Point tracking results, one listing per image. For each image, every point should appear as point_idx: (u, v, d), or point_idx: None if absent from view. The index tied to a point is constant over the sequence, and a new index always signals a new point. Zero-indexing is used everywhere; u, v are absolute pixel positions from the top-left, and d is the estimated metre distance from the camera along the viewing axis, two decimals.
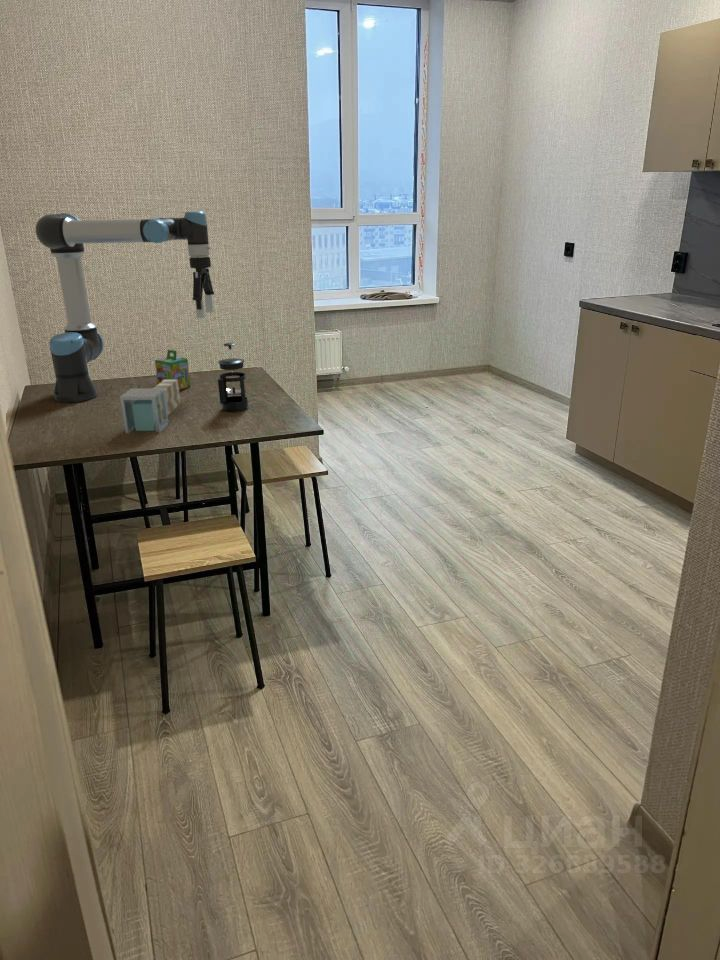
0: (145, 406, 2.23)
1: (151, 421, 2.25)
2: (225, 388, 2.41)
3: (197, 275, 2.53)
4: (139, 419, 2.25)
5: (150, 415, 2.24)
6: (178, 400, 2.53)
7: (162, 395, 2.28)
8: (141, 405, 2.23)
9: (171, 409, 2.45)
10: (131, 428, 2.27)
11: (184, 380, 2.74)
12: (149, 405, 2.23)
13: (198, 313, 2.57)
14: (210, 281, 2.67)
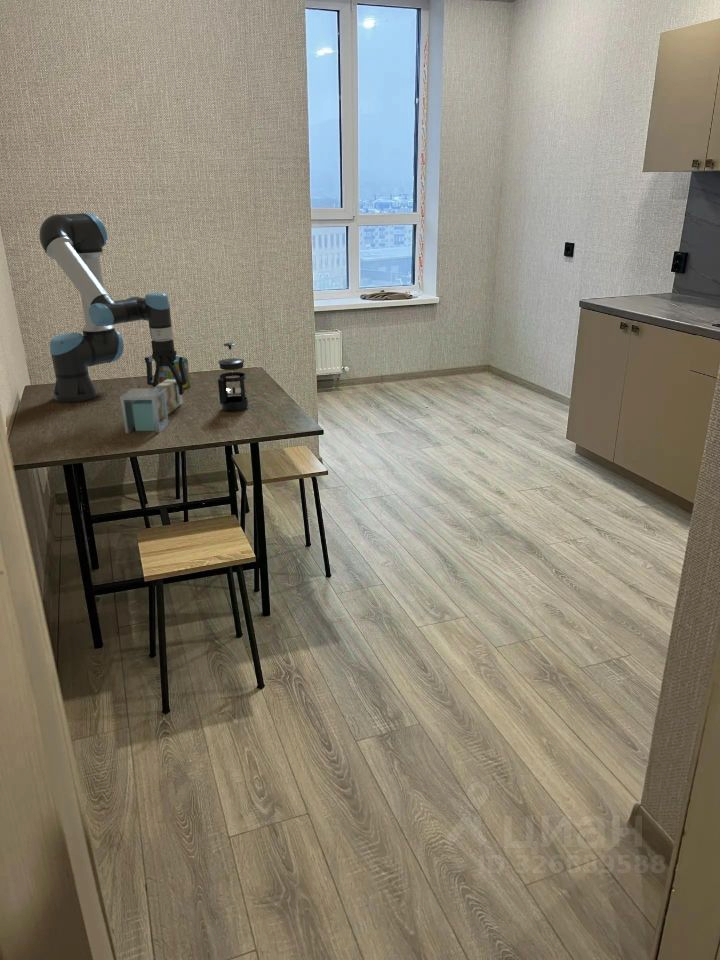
0: (145, 406, 2.23)
1: (151, 421, 2.25)
2: (225, 388, 2.41)
3: None
4: (139, 419, 2.25)
5: (150, 415, 2.24)
6: None
7: (162, 395, 2.28)
8: (141, 405, 2.23)
9: (170, 409, 2.45)
10: (131, 428, 2.27)
11: None
12: (149, 405, 2.23)
13: None
14: (181, 371, 2.46)
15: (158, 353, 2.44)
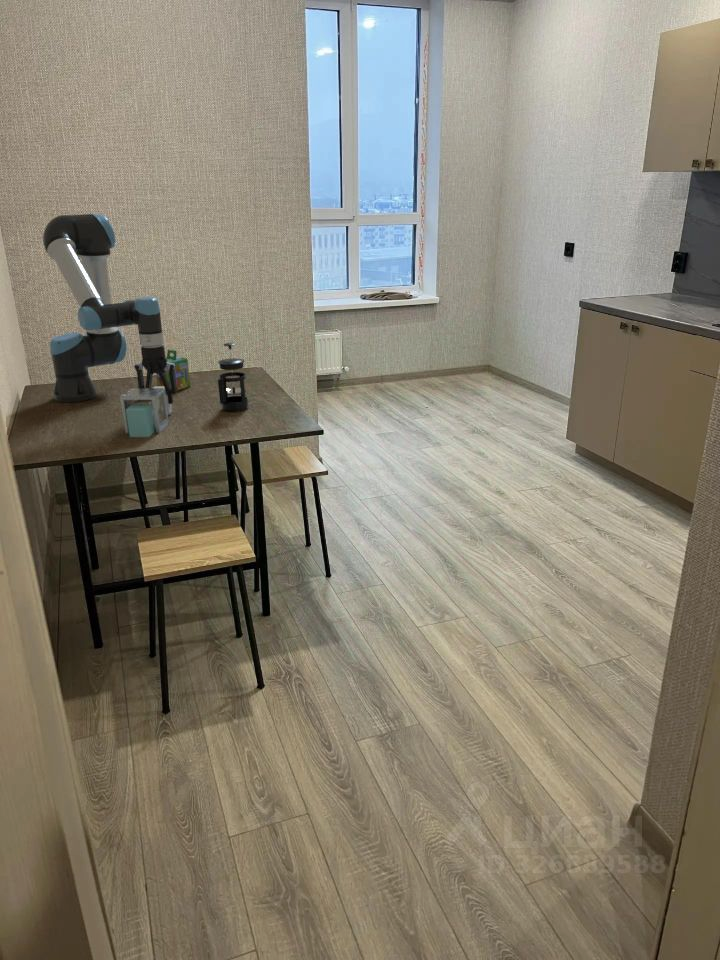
0: (140, 412, 2.17)
1: (145, 427, 2.19)
2: (225, 388, 2.41)
3: None
4: (134, 425, 2.19)
5: (144, 421, 2.18)
6: None
7: (162, 395, 2.28)
8: (135, 411, 2.17)
9: (162, 417, 2.35)
10: None
11: (184, 380, 2.74)
12: (143, 411, 2.17)
13: None
14: (171, 379, 2.36)
15: (148, 359, 2.34)
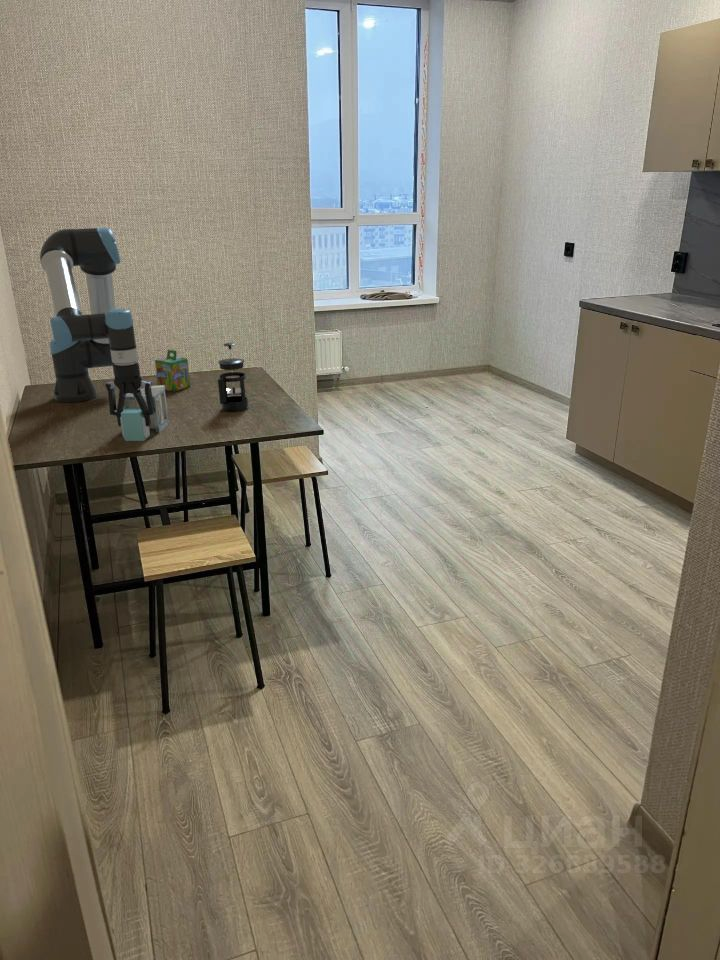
0: (135, 415, 2.14)
1: (141, 431, 2.15)
2: (225, 388, 2.41)
3: None
4: (129, 428, 2.15)
5: (140, 425, 2.15)
6: (166, 406, 2.46)
7: (162, 395, 2.28)
8: (130, 414, 2.14)
9: (163, 416, 2.38)
10: None
11: (184, 380, 2.74)
12: (139, 414, 2.13)
13: None
14: (148, 399, 2.13)
15: (121, 378, 2.10)
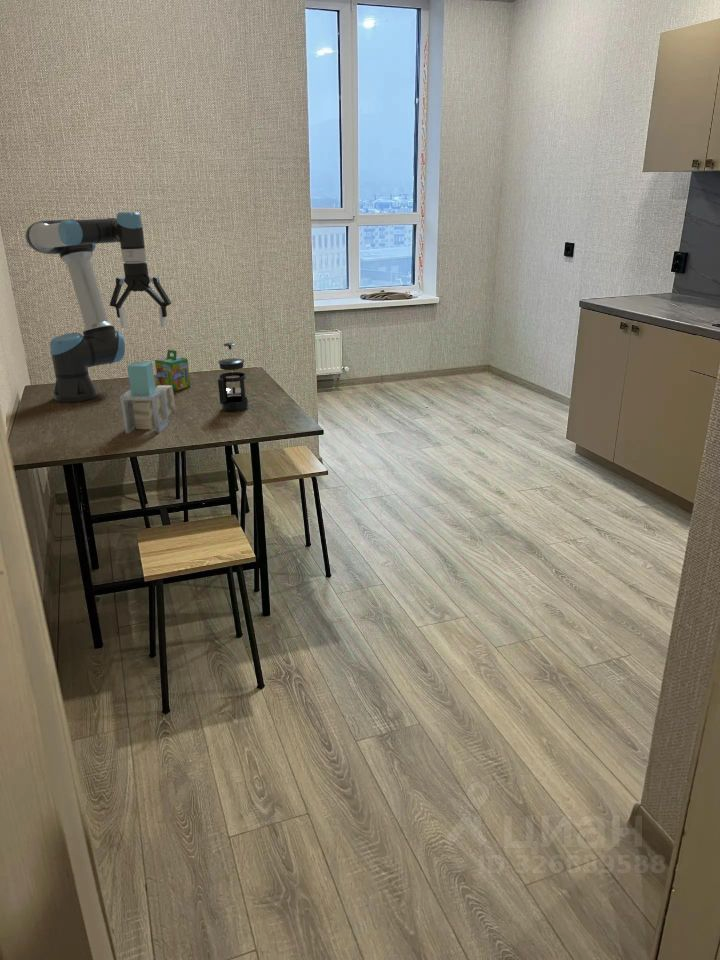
0: (141, 368, 2.19)
1: (147, 384, 2.21)
2: (225, 388, 2.41)
3: None
4: (135, 381, 2.20)
5: (146, 378, 2.20)
6: (172, 407, 2.45)
7: (162, 395, 2.28)
8: (136, 367, 2.19)
9: (163, 416, 2.38)
10: (131, 428, 2.27)
11: (184, 380, 2.74)
12: (145, 367, 2.19)
13: None
14: (160, 292, 2.33)
15: (132, 279, 2.32)
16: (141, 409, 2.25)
